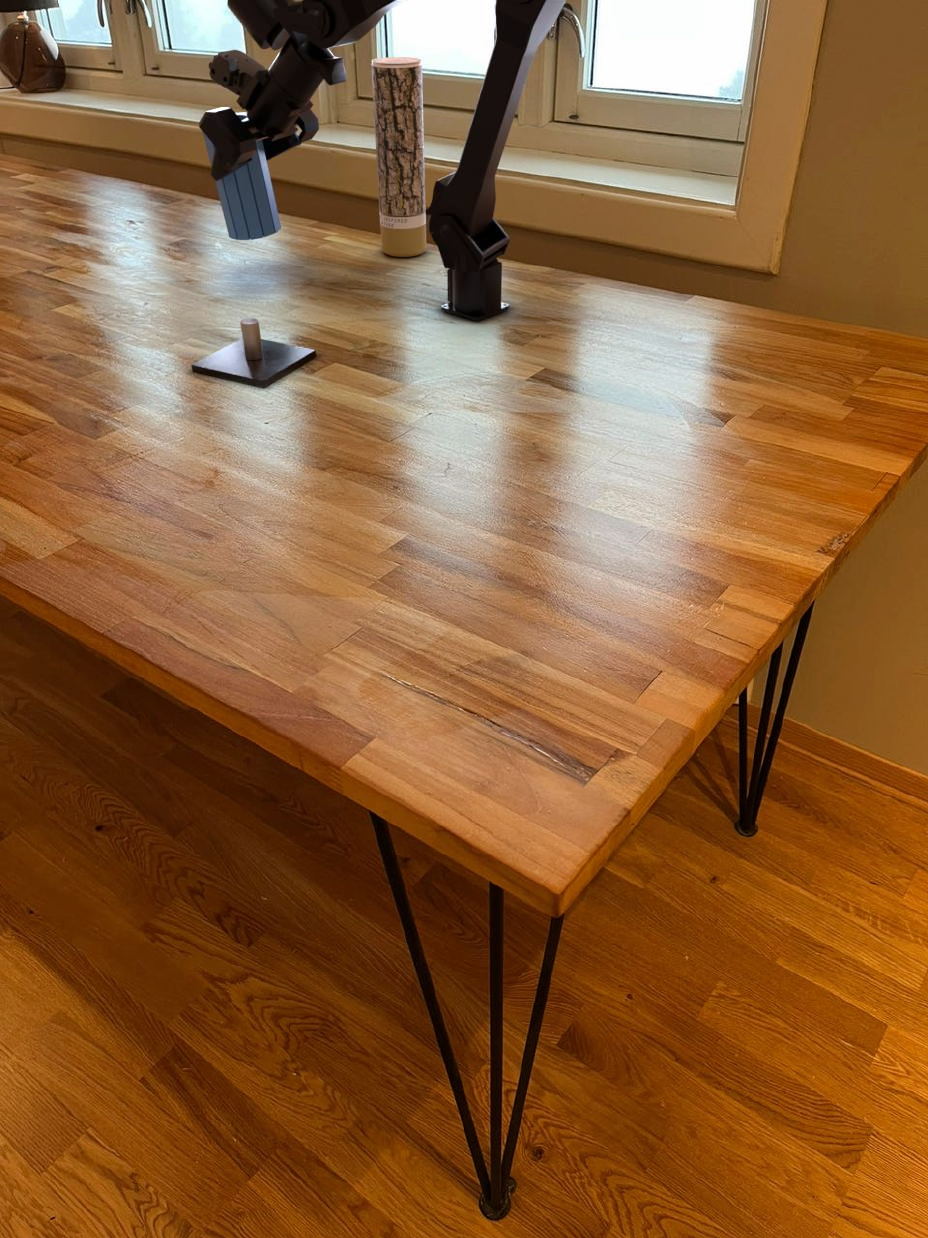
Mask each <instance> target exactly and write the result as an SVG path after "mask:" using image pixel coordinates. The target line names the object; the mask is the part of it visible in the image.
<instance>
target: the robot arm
mask: <svg viewBox="0 0 928 1238" xmlns="http://www.w3.org/2000/svg"><path fill="white" fill-rule="evenodd" d="M406 1H407V0H299V1H296V0H227V5H226V6H227V8H228V10H229V11H230V12H231V13H232V15H233V16H234V17H235V18H236V19H237V21H238V22H239V23H240V24H241V26H242V27H243V28H244V30H245V31H246V32H247V33H248V35H249V36H250V37H251V39H252V40H253V41H254V42H255V43H256V44H257V46H258V47H259V48H260V49H261V50H267V49H270V48H271V50H272V51H279V52H278V54H277V56H276V57H275V59H274V61H273V62H272V63H271V65H270V66H269V68H266V67H265V66H264V65H263V64H262V63H260V62H259V61H257V60H256V59H254V58H253V57H251V56H250V55H248V54H246V53H245V52H244V51H241V50H238V49H231V50H225V51H220V52H218V53H217V54H216V55H213V58H212V61H210V62H209V63H208V69H209V73H208V74H209V77H210V80H212V81H213V82H214V83H216V84H217V85H219V86H221V87H222V88H224V89H227V90H229V92H232V93H234V94H235V95H237V96H238V97H237V99H236V101H235V102H236V103H237V104H238V105H239V107H240V108H241V109H242V110H245V111H246V114H247V115H246V117H247V118H248V119H249V120H247V121H243V122H242V120H241V119H240V118H239V117H238V115H237V114H236V113H237V112H235V110H234V109H233V108H232V107H228V106H227V107H225V106H222V107H218V108H214V109H211V110H206V111H204V113H203V115H202V116H201V118H200V120H199V122H198V128H199V130H201V132H202V134H203V133H204V134H205V135H206V136H207V137H208V139H209V140H210V141H211V142H212V143H213V145H214V146H215V152H214V158H213V163H212V167H211V169H210V170H211V171H210V177H211V178H212V179H213V180H214V182H215V181H218V180H220V179H222V178H224V177H225V176H227V175H229V174H231V173H232V172H234V171H236V170H237V169H239V168H241V167H242V166H244V165H246V164H248V163H249V162H251V161H252V158H251V157H252V156H253V155H254V153H255V152H256V150H257V143H256V141H259V140H262V142H263V146H264V151H265V156H266V160H267V162H269V161H272V159H275V158H276V157H279V156H280V155H282V154H284V153H286V152H289V151H290V150H293V149H294V148H296V147H299V146H301V145H302V144H303V143H305V142H307V141H311V140H313V138H314V137H315V136H316V134H317V133H318V132H319V130H320V125H319V118H318V117H317V115H316V114H315V112H313V110H312V107H314V104H313V102H312V101H311V100H312V99H313V97H314V95H315V93H316V92H317V91H318V89H319V88H320V86H321V85H322V83H323V82H324V81H325V83H326V84H327V85H328V86H331V87H332V86H335V85H339V84H342V83H345V82H347V80H348V78H347V72H346V68H345V64H344V62H345V58H344V57H343V56H335V55H334V53H332V51H331V50H330V49H332V48H337V47H341V46H346V45H350V44H354V43H357V42H359V41H360V40H361V39H362V38H364V37H365V36H366V35H367V34H368V33H370V31H372V30H373V29H374V28H375V27H376V26H377V25H378V24H379V23H380V21H381V20H382V19H383V18H384V16H385V15H386V14H387V13H389V12H390V10H391V11H392V9H393V8H396V7H397V6H399V5H400V4H403V3H405V2H406ZM566 1H567V0H495V1H494V2H495V3H494V25H495V40H494V44H493V48H492V51H491V54H490V57H489V61H488V65H487V68H486V72H485V75H484V78H483V81H482V85H481V87H480V88H481V89H480V92H479V95H478V98H477V102H476V105H475V109H474V112H473V115H472V119H471V121H470V125H469V129H468V131H467V136H466V139H465V141H464V146H463V149H462V152H461V155H460V159H459V163H458V166H457V168H456V170H455V171H454V172H452V173H450V174H448V175H446V176H444V177H442V178H439V179H437V180H436V181H435V183H434V186H433V190H432V199H431V202H430V205H429V207H428V208H427V210H425V211H426V216H429V217H428V225H427V228H428V233H429V234H430V235H431V239H432V241H433V242H434V244H435V245H436V246H437V249H438V252H439V256H440V258H441V261H442V265H443V267H444V269H447V271H446V273H447V274H446V278H447V281H446V282H447V283H446V284H447V286H446V287H447V302H448V303H445V304H443V305H441V306H440V310H441V311H442V312H446V313H450V314H452V315H455V316H459V317H462V318H465V319H468V320H471V321H475V322H479V321H483V320H485V319H487V318H490V317H491V316H495V315H497V314H500V313H502V312H504V311H507V310H509V309H510V304H508V303H506V302H502V287H503V286H502V284H503V283H502V281H503V262H502V261H499V259H498V258H499V257H501V256H504V255H505V254H506V252H507V250H508V247H509V245H510V241H511V240H510V239H511V238H510V237H509V235H508V234H507V233H506V231H504V229H503V228H502V226H501V225H500V224H499V223H498V221H497V220H496V219H495V217H494V214H495V209H496V202H497V193H496V174H497V171H498V169H499V165H500V161H501V159H502V156H503V153H504V150H505V146H506V143H507V140H508V138H509V134H510V131H511V128H512V125H513V122H514V119H515V116H516V112H517V110H518V106H519V104H520V101H521V97H522V94H523V92H524V88H525V86H526V82H527V80H528V77H529V73H530V70H531V67H532V63H533V60H534V58H535V54H536V53H537V50H538V49H539V46H541V44H542V42H543V41H544V39H545V38H546V36H547V35H548V33H549V32H550V30H551V29H552V28H553V25H555V23H556V21H557V19H558V17H559V15H560V13H561V11H562V9H563V7H564V6H565V4H566ZM298 128H299V129H300V130H301V131H300V132H299V134H297V133H298V131H299V129H298Z"/></svg>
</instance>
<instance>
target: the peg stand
mask: <svg viewBox="0 0 928 1238" xmlns="http://www.w3.org/2000/svg"><path fill="white" fill-rule="evenodd" d="M259 322H260V321H259V319H257V318H254V317H246V318H243V319H241V320H240V321H239V323H240V331H241V338H240V339H238V340H236V341H234V342H232V343H230V344H228V345H227V346H224V347H223V348H221V349H219V350H217V351H215V352H213V353H211V354H210V355H208V356H205V357H204V358H202V359H200V360H198V361H196V362H194V363H193V364H191V365H190V366H191V371H192V372H193V373H197V374H201V375H206V376H210V377H215V378H219V379H223V380H228V381H231V382H232V381H233V382H237V383H241V384H245V385H250V386H254V387H260V388H263V389H265V388H267V387H269V386H270V385H271V384H274V383H275V382H277V381H279V380H280V379H282V378H283V377H285V376H286V375H289V374H291V372H293V371H295V370H297V369H299V368H300V367H302V366H303V365H304V364H307V363H308V362H310V361H312V360H313V359H315V358H316V357H317V350H316V349H314V348H313V349H312V348H308V347H303V346H298V345H293V344H289V343H284V342H279V341H273V340H268V339H262V337H261V329H260V323H259Z"/></svg>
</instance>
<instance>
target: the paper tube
mask: <svg viewBox="0 0 928 1238" xmlns="http://www.w3.org/2000/svg"><path fill="white" fill-rule="evenodd" d="M371 78H372V81H371V82H372V99H373V119H374V136H375V152H376V155H375V156H376V172H377V173H376V174H377V175H376V176H377V191H378V193H377V194H378V210H379V211H378V212H379V225H380V242H381V243H380V244H381V245H380V246H381V250H382V252H383V253H384V254H386V255H388V256H391V257H396V258H406V257H407V258H408V257H409V258H410V257H416V256H419V255H422V254H423V253H424V252H425V251H426V249H427V215H426V211H427V210H426V209H427V208H426V207H427V206H426V176H425V175H426V173H425V171H426V169H425V137H424V99H423V98H424V97H423V93H424V92H423V63H422V59H421V58H416V57H406V56H405V57H404V56H392V57H391V56H389V57H378V58H374V59H371Z"/></svg>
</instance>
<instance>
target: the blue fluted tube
mask: <svg viewBox="0 0 928 1238" xmlns="http://www.w3.org/2000/svg"><path fill="white" fill-rule="evenodd" d="M235 113H236V114H237V115H238V117H239V118H240V119H241V120H242V122H243V121H247V120H249V119H248V118H247V117H246V115H247V114H246V113H247V111H246V112H244V111H243V112H235ZM202 135H203V139H204V143H205V147H206V152H207V155H208V158H209V162H210V166H211V168H212V163H213V158H214V152H215V146H214V145H213V143H212V142H211V141H210V140H209V139H208V137H207V136H206V135H205V134H204V133H203V132H202ZM256 143H257V150H256V152H255V153H254V155H253V156H252V157H251V158H252V161H251V162H249V163H248V164H246V165H244V166H242V167H241V168H239V169H237V170H236V171H234V172H232V173H231V174H229V175H227V176H225V177H224V178H222V179H220V180H218V181H215V180H214V182H215V186H216V190H217V194H218V197H219V202H220V206H221V210H222V214H223V218H224V221H225V226H226V229H227V234H228V238H230V239H232V240H235V241H253V240H258V239H264V238H267V237H269V236H272V235H275V234H276V233H278V232H279V231H280V230H281V229H282V225H281V221H280V216H279V212H278V211H279V210H278V206H277V201H276V197H275V192H274V188H273V184H272V180H271V179H272V178H271V174H270V170H269V166H268V161H267V160H266V156H265V151H264V146H263V142H262V140H259V141H256Z"/></svg>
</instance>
